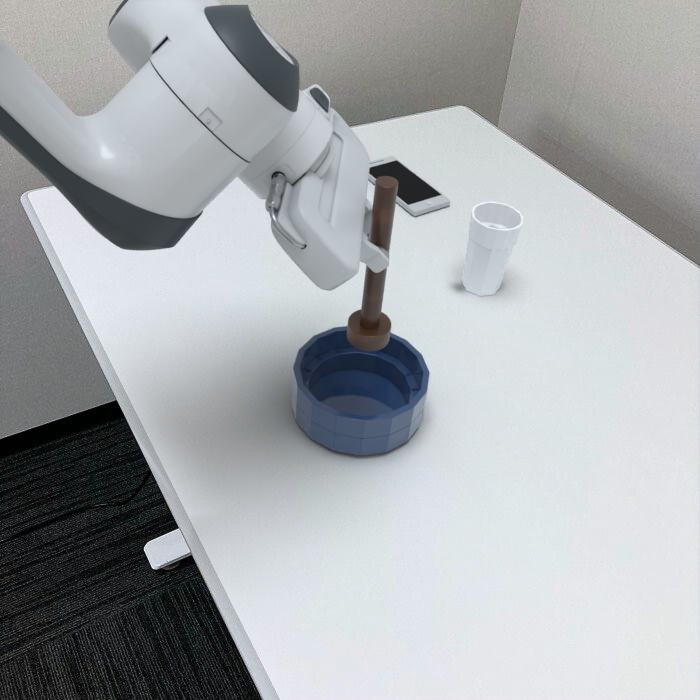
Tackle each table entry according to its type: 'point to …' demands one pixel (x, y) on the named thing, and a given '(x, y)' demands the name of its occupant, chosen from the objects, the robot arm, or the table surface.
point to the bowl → (358, 393)
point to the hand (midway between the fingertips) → (384, 254)
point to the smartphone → (409, 187)
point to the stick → (375, 274)
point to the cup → (490, 246)
